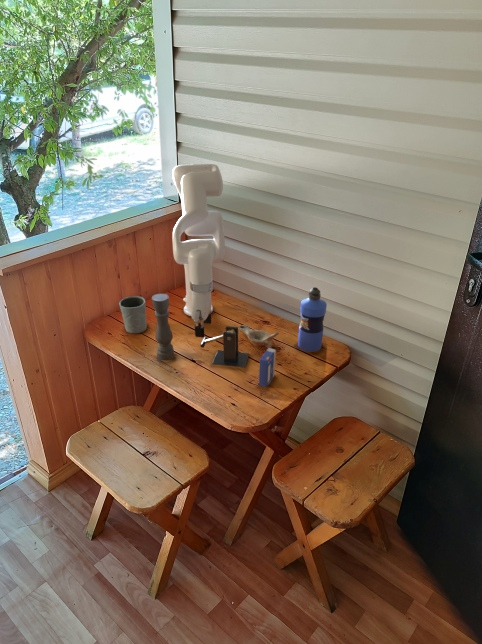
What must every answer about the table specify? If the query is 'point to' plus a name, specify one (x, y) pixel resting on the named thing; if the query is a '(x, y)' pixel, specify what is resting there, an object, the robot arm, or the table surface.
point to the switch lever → (213, 339)
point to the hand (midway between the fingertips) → (203, 329)
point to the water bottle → (311, 321)
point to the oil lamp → (258, 336)
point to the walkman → (267, 367)
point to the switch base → (231, 350)
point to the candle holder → (163, 327)
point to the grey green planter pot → (134, 314)
